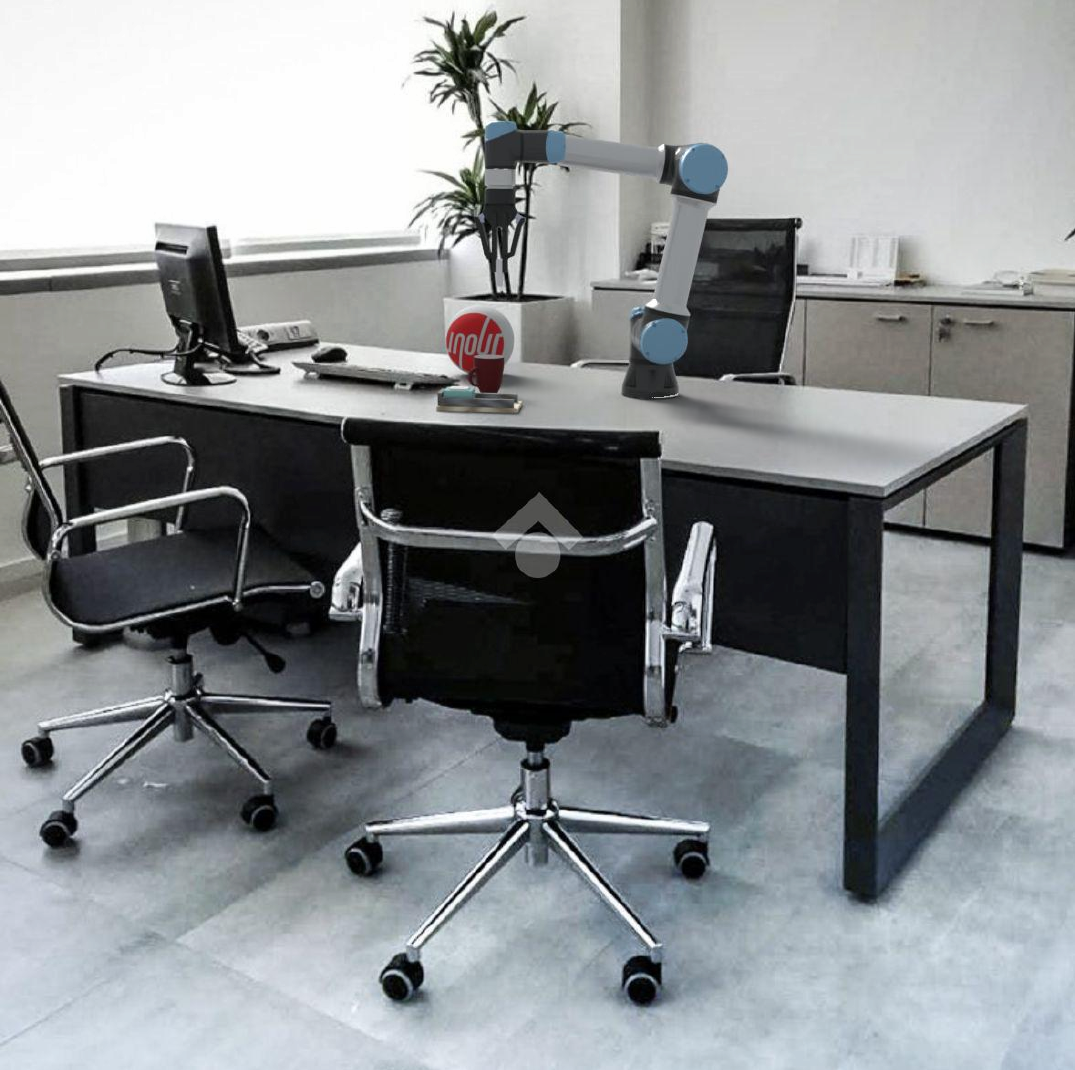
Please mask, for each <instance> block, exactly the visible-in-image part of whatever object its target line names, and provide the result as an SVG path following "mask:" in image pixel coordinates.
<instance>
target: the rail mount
mask: <svg viewBox="0 0 1075 1070" xmlns="http://www.w3.org/2000/svg"><path fill="white" fill-rule="evenodd" d="M445 389H446V388H444V387H443V388H441V389H440V390H439V391H438V392H437V405H436V407H435V409H436V412H437V411H439V412H465V411H469V412H471V413H477V412H478V413H499V414H500V413H503V414H504V413H505V414H508V413H509V414H518V413H519V411H520V409H521V408H522V406H523V401H522V400H518V399H519V398H518V397H519V395H518V393H505V392H504V393H498V392H497V393H480V392H475V398H447V397H444V390H445Z"/></svg>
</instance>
